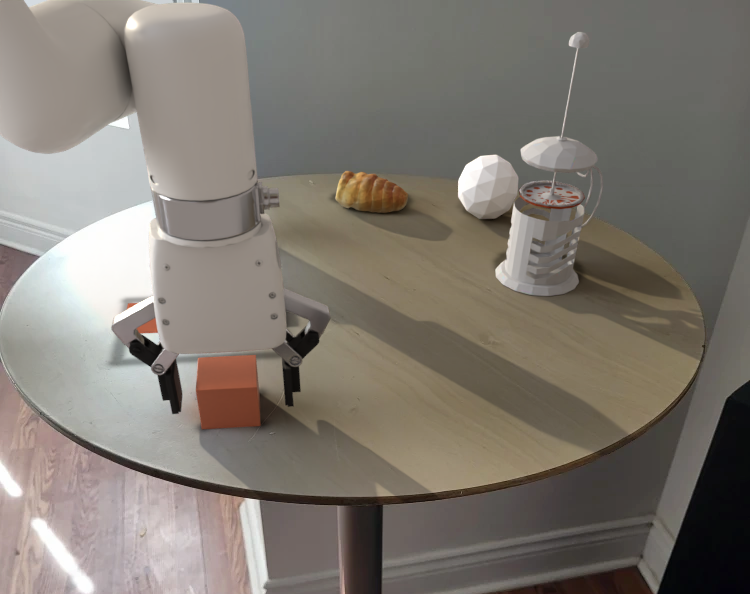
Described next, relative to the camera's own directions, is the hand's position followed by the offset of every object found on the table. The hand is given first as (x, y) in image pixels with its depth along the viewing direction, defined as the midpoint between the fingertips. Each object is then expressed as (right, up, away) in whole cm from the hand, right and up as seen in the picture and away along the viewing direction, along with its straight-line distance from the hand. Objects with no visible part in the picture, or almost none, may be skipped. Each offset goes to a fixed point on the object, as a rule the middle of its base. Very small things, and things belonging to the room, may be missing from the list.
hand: (233, 401), depth 68 cm
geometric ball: (+27, +29, +36) cm, 53 cm away
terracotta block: (0, -1, +1) cm, 2 cm away
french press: (+32, +18, +24) cm, 44 cm away
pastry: (+11, +31, +38) cm, 50 cm away
